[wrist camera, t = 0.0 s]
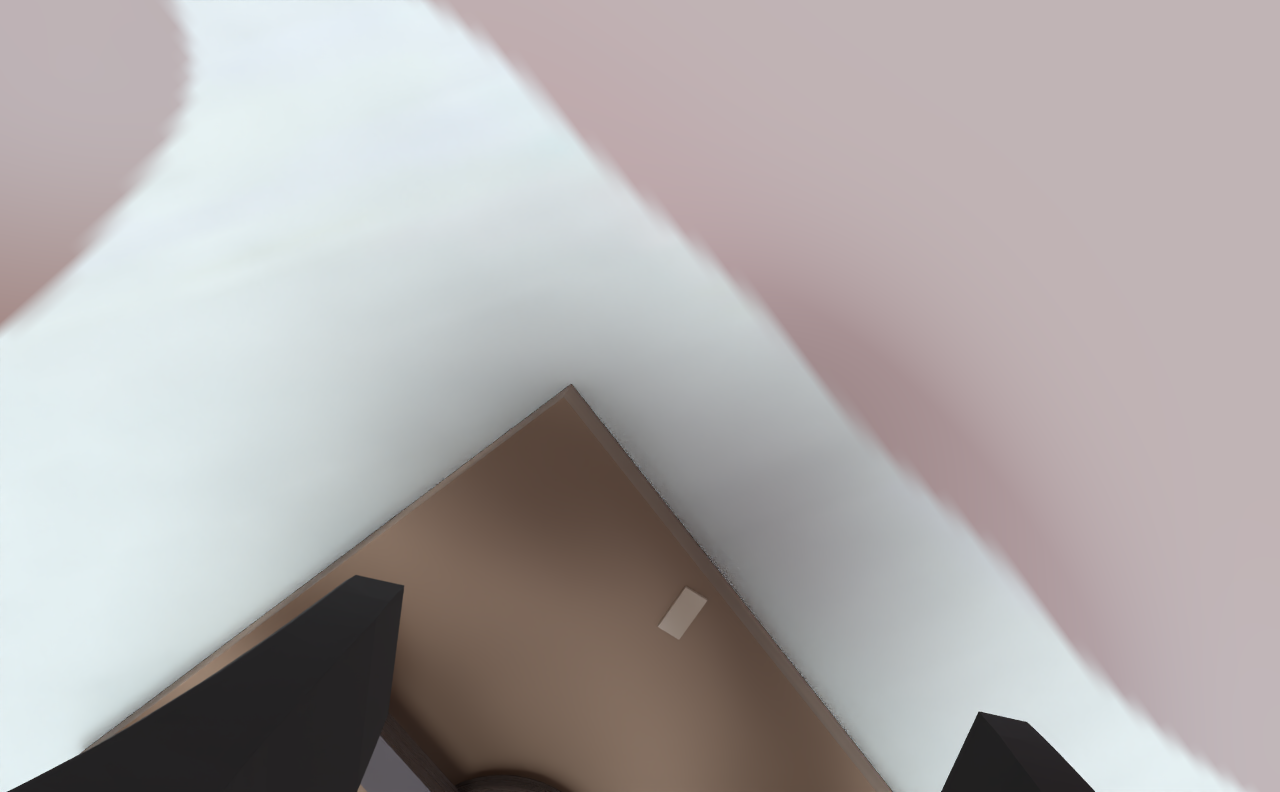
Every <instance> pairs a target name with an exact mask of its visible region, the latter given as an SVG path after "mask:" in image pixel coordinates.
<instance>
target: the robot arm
mask: <svg viewBox="0 0 1280 792" xmlns="http://www.w3.org/2000/svg"><path fill="white" fill-rule="evenodd" d="M403 593H404V585H400V584H396V583H391V582H386V581H382V580H377V579H373V578H368V577H364V576H359V575H354V576H353V577H351V578H349V579H347V580H346V581H344V582H343V583H342V584H340V585H339V586H337V587H336V588H335V589H333V590H332V591H331V592H329V593H328V594H327V595H325V596H324V597H323V598H321V599H320V600H318V601H317V602H316V603H314V604H313V605H312V606H310V607H309V608H308V609H306V610H305V611H303V612H302V613H301V614H299V615H298V616H297V617H295V618H294V619H292V620H291V621H290V622H288V623H287V624H285V625H284V626H283V627H281V628H280V629H278V630H277V631H276V632H274V633H273V634H272V635H270V636H269V637H267V638H266V639H264V640H263V641H261V642H260V643H259V644H257V645H256V646H254V647H253V648H251V649H250V650H248V651H247V652H245V653H244V654H242V655H241V656H239V657H238V658H236V659H235V660H234V661H232V662H231V663H229V664H228V665H226V666H225V667H223V668H222V669H220V670H219V671H217V672H216V673H214V674H213V675H211V676H210V677H208V678H207V679H205V680H204V681H202V682H201V683H199V684H197V685H196V686H194V687H193V688H191V689H189V690H188V691H186V692H184V693H183V694H181V695H180V696H178V697H176V698H175V699H173V700H171V701H170V702H168V703H167V704H165V705H163V706H162V707H160V708H158V709H157V710H155V711H154V712H152V713H150V714H149V715H147V716H145V717H144V718H142V719H141V720H139V721H137V722H136V723H134V724H132V725H131V726H129V727H127V728H125V729H124V730H122V731H120V732H118V733H117V734H115V735H113V736H111V737H110V738H108V739H106V740H104V741H103V742H101V743H99V744H97V745H96V746H94V747H92V748H90V749H88V750H86V751H85V752H83V753H81V754H79V755H77V756H76V757H74V758H72V759H70V760H68V761H66V762H64V763H62V764H60V765H58V766H57V767H55V768H53V769H51V770H49V771H47V772H45V773H43V774H41V775H39V776H37V777H36V778H34V779H32V780H30V781H28V782H26V783H24V784H22V785H20V786H18V787H16V788H14V789H12V790H10V791H8V792H357V791H358V788H359V786H360V784H361V781H362V779H363V776H364V774H365V771H366V769H367V767H368V764H369V762H370V759H371V757H372V754H373V752H374V749H375V747H376V744H377V742H378V739H379V737H380V734H381V731H382V729H383V726H384V724H385V721H386V719H387V716H388V712H389V704H390V696H391V688H392V680H393V672H394V664H395V657H396V649H397V641H398V633H399V625H400V617H401V609H402V601H403ZM941 792H1095V791H1094V790H1093V789H1092V788H1091V787H1090V786H1089V785H1088V783H1087V782H1086V781H1085V780H1084V779H1083V778H1082V777H1081V776H1080V775H1079V774H1078V773H1077V772H1076V771H1075V770H1074V769H1073V768H1072V767H1071V765H1070V764H1069V763H1068V762H1067V761H1066V760H1065V759H1064V758H1063V757H1062V756H1061V755H1060V754H1059V753H1058V752H1057V751H1056V750H1055V749H1054V748H1053V747H1052V746H1051V745H1050V744H1049V743H1048V742H1047V741H1046V740H1045V739H1044V738H1043V737H1042V736H1041V735H1040V734H1039V733H1038V732H1037V731H1036V730H1035V729H1034V728H1033V727H1032V726H1031V725H1030V724H1029V723H1027V722H1024V721H1020V720H1015V719H1010V718H1006V717H1001V716H997V715H992V714H988V713H983V712H978V714H977V716H976V719H975V721H974V723H973V725H972V727H971V729H970V731H969V733H968V736H967V738H966V740H965V742H964V744H963V746H962V748H961V751H960V753H959V755H958V757H957V759H956V761H955V763H954V766H953V768H952V770H951V772H950V774H949V776H948V778H947V780H946V783H945V785H944V787H943V789H942V791H941Z"/></svg>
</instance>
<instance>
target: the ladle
mask: <svg viewBox="0 0 1280 792" xmlns="http://www.w3.org/2000/svg"><path fill="white" fill-rule="evenodd" d="M361 785H362V787H363V788H364V789H365V790H366V791H367V792H561V791H560V790H558V789H556V788H554V787H552V786H550V785H548V784H546V783H544V782H540V781H537V780H534V779H531V778H526V777H521V776H515V775H489V776H482V777H477V778H473V779H470V780H466V781H464V782H461V783H459V784H457V785H453V783H452V782H451V781H450V780H449V779H448V778H447V777H446V776H445V775H444V773H443V772H442V771H441V770H440V769H439V768H438V767H437V766H436V764H435V763H434V762H433V761H432V760H431V759H430V758H429V757H428V756H427V754H426V753H425V752H424V751H423V750H422V749H421V748H420V747H419V745H418V744H417V743H416V742H415V741H414V740H413V739H412V738H411V737H410V735H409V734H408V733H407V732H406V731H405V730H404V729H403V728H402V726H401V725H400V724H399V723H398V722H397V721H396V720H395V719H394V718H393V716H392V715H391V714H390V713H389V712H388V716H387V719H386V721H385V724H384V726H383V729H382V731H381V734H380V737H379V739H378V742H377V744H376V747H375V749H374V752H373V754H372V757H371V759H370V762H369V764H368V767H367V769H366V771H365V774H364V776H363V779H362V781H361Z"/></svg>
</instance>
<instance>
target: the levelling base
mask: <svg viewBox="0 0 1280 792" xmlns="http://www.w3.org/2000/svg"><path fill="white" fill-rule="evenodd" d="M354 575H359V576H364V577H368V578H373V579H377V580H382V581H386V582H391V583H396V584H400V585H404V593H403V601H402V609H401V617H400V625H399V633H398V641H397V649H396V657H395V664H394V672H393V680H392V688H391V696H390V704H389V713H390V714H391V715H392V716H393V718H394V719H395V720H396V721H397V722H398V723H399V724H400V725H401V726H402V728H403V729H404V730H405V731H406V732H407V733H408V734H409V735H410V737H411V738H412V739H413V740H414V741H415V742H416V743H417V744H418V745H419V747H420V748H421V749H422V750H423V751H424V752H425V753H426V754H427V756H428V757H429V758H430V759H431V760H432V761H433V762H434V763H435V764H436V766H437V767H438V768H439V769H440V770H441V771H442V772H443V773H444V775H445V776H446V777H447V778H448V779H449V780H450V781H451V782H452V783H453V785H457V784H459V783H461V782H464V781H466V780H470V779H473V778H477V777H482V776H489V775H515V776H521V777H526V778H531V779H534V780H537V781H540V782H544V783H546V784H548V785H550V786H552V787H554V788H556V789H558V790H560V791H561V792H892V790H891V789H890V788H889V787H888V785H887V784H886V783H885V781H884V780H883V779H882V778H881V776H880V775H879V774H878V773H877V771H876V770H875V769H874V767H873V766H872V765H871V764H870V762H869V761H868V760H867V759H866V757H865V756H864V755H863V754H862V752H861V751H860V750H859V748H858V747H857V746H856V745H855V743H854V742H853V741H852V740H851V738H850V737H849V736H848V734H847V733H846V732H845V731H844V729H843V728H842V727H841V726H840V724H839V723H838V722H837V721H836V719H835V718H834V717H833V715H832V714H831V713H830V712H829V710H828V709H827V708H826V707H825V705H824V704H823V703H822V701H821V700H820V699H819V698H818V696H817V695H816V694H815V693H814V691H813V690H812V689H811V687H810V686H809V685H808V684H807V682H806V681H805V680H804V679H803V677H802V676H801V675H800V674H799V672H798V671H797V670H796V668H795V667H794V666H793V665H792V663H791V662H790V661H789V660H788V658H787V657H786V656H785V654H784V653H783V652H782V651H781V649H780V648H779V647H778V646H777V644H776V643H775V642H774V641H773V639H772V638H771V637H770V635H769V634H768V633H767V632H766V630H765V629H764V628H763V627H762V625H761V624H760V623H759V621H758V620H757V619H756V618H755V616H754V615H753V614H752V613H751V611H750V610H749V609H748V607H747V606H746V605H745V604H744V602H743V601H742V600H741V599H740V597H739V596H738V595H737V594H736V592H735V591H734V590H733V588H732V587H731V586H730V585H729V583H728V582H727V581H726V580H725V578H724V577H723V576H722V574H721V573H720V572H719V571H718V569H717V568H716V567H715V566H714V564H713V563H712V562H711V561H710V559H709V558H708V557H707V555H706V554H705V553H704V552H703V550H702V549H701V548H700V547H699V545H698V544H697V543H696V541H695V540H694V539H693V538H692V536H691V535H690V534H689V533H688V531H687V530H686V529H685V527H684V526H683V525H682V524H681V522H680V521H679V520H678V519H677V517H676V516H675V515H674V514H673V512H672V511H671V510H670V508H669V507H668V506H667V505H666V503H665V502H664V501H663V500H662V498H661V497H660V496H659V494H658V493H657V492H656V491H655V489H654V488H653V487H652V486H651V484H650V483H649V482H648V481H647V479H646V478H645V477H644V475H643V474H642V473H641V472H640V470H639V469H638V468H637V467H636V465H635V464H634V463H633V461H632V460H631V459H630V458H629V456H628V455H627V454H626V453H625V451H624V450H623V449H622V447H621V446H620V445H619V444H618V442H617V441H616V440H615V439H614V437H613V436H612V435H611V434H610V432H609V431H608V430H607V428H606V427H605V426H604V425H603V423H602V422H601V421H600V420H599V418H598V417H597V416H596V414H595V413H594V412H593V411H592V409H591V408H590V407H589V406H588V404H587V403H586V402H585V401H584V399H583V398H582V397H581V395H580V394H579V393H578V392H577V390H576V389H575V388H574V387H573V385H572V384H570V385H569V386H568V387H566V388H565V389H564V390H562V391H561V392H560V393H558V394H557V395H556V396H554V397H553V398H552V399H550V400H549V401H548V402H546V403H545V404H544V405H543V406H541V407H540V408H539V409H537V410H536V411H535V412H533V413H532V414H531V415H529V416H528V417H527V418H525V419H524V420H523V421H521V422H520V423H519V424H517V425H516V426H515V427H513V428H512V429H511V430H509V431H508V432H507V433H505V434H504V435H503V436H501V437H500V438H499V439H497V440H496V441H495V442H493V443H492V444H491V445H489V446H488V447H487V448H485V449H484V450H483V451H481V452H480V453H479V454H477V455H476V456H475V457H473V458H472V459H471V460H469V461H468V462H467V463H465V464H464V465H463V466H461V467H460V468H459V469H457V470H456V471H455V472H453V473H452V474H451V475H449V476H448V477H447V478H445V479H444V480H443V481H441V482H440V483H439V484H437V485H436V486H435V487H434V488H432V489H431V490H430V491H428V492H427V493H426V494H424V495H423V496H422V497H420V498H419V499H418V500H416V501H415V502H414V503H412V504H411V505H410V506H408V507H407V508H406V509H404V510H403V511H402V512H400V513H399V514H398V515H396V516H395V517H394V518H392V519H391V520H390V521H388V522H387V523H386V524H384V525H383V526H382V527H380V528H379V529H378V530H376V531H375V532H374V533H372V534H371V535H370V536H368V537H367V538H366V539H364V540H363V541H362V542H360V543H359V544H358V545H356V546H355V547H354V548H352V549H351V550H350V551H348V552H347V553H346V554H344V555H343V556H342V557H340V558H339V559H338V560H336V561H335V562H334V563H332V564H331V565H330V566H328V567H327V568H326V569H325V570H323V571H322V572H321V573H319V574H318V575H317V576H315V577H314V578H313V579H311V580H310V581H309V582H307V583H306V584H305V585H303V586H302V587H301V588H299V589H298V590H297V591H295V592H294V593H293V594H291V595H290V596H289V597H287V598H286V599H285V600H283V601H282V602H281V603H279V604H278V605H277V606H275V607H274V608H273V609H271V610H270V611H269V612H267V613H266V614H265V615H263V616H262V617H261V618H259V619H258V620H257V621H255V622H254V623H253V624H251V625H250V626H249V627H247V628H246V629H245V630H243V631H242V632H241V633H239V634H238V635H237V636H235V637H234V638H233V639H231V640H230V641H229V642H227V643H226V644H225V645H223V646H222V647H221V648H219V649H218V650H217V651H216V652H214V653H213V654H212V655H210V656H209V657H208V658H206V659H205V660H204V661H202V662H201V663H200V664H198V665H197V666H196V667H194V668H193V669H192V670H190V671H189V672H188V673H186V674H185V675H184V676H182V677H181V678H180V679H178V680H177V681H176V682H174V683H173V684H172V685H170V686H169V687H168V688H166V689H165V690H164V691H162V692H161V693H160V694H158V695H157V696H156V697H154V698H153V699H152V700H150V701H149V702H148V703H146V704H145V705H144V706H142V707H141V708H140V709H138V710H137V711H136V712H134V713H133V714H132V715H130V716H129V717H128V718H126V719H125V720H124V721H122V722H121V723H120V724H118V725H117V726H116V727H114V728H113V729H112V730H110V731H109V732H108V733H107V734H105V735H104V736H103V737H101V738H100V739H99V740H97V741H96V742H95V743H93V744H92V745H91V746H89V747H88V748H87V749H85V750H84V751H83V752H85V751H86V750H88V749H90V748H92V747H94V746H96V745H97V744H99V743H101V742H103V741H104V740H106V739H108V738H110V737H111V736H113V735H115V734H117V733H118V732H120V731H122V730H124V729H125V728H127V727H129V726H131V725H132V724H134V723H136V722H137V721H139V720H141V719H142V718H144V717H145V716H147V715H149V714H150V713H152V712H154V711H155V710H157V709H158V708H160V707H162V706H163V705H165V704H167V703H168V702H170V701H171V700H173V699H175V698H176V697H178V696H180V695H181V694H183V693H184V692H186V691H188V690H189V689H191V688H193V687H194V686H196V685H197V684H199V683H201V682H202V681H204V680H205V679H207V678H208V677H210V676H211V675H213V674H214V673H216V672H217V671H219V670H220V669H222V668H223V667H225V666H226V665H228V664H229V663H231V662H232V661H234V660H235V659H236V658H238V657H239V656H241V655H242V654H244V653H245V652H247V651H248V650H250V649H251V648H253V647H254V646H256V645H257V644H259V643H260V642H261V641H263V640H264V639H266V638H267V637H269V636H270V635H272V634H273V633H274V632H276V631H277V630H278V629H280V628H281V627H283V626H284V625H285V624H287V623H288V622H290V621H291V620H292V619H294V618H295V617H297V616H298V615H299V614H301V613H302V612H303V611H305V610H306V609H308V608H309V607H310V606H312V605H313V604H314V603H316V602H317V601H318V600H320V599H321V598H323V597H324V596H325V595H327V594H328V593H329V592H331V591H332V590H333V589H335V588H336V587H337V586H339V585H340V584H342V583H343V582H344V581H346V580H347V579H349V578H351V577H353V576H354ZM83 752H82V753H83ZM80 754H81V753H80ZM357 792H367V791H366V790H365V789H364V788H363V787H362V785H361V784H360V786H359V788H358V791H357Z"/></svg>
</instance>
